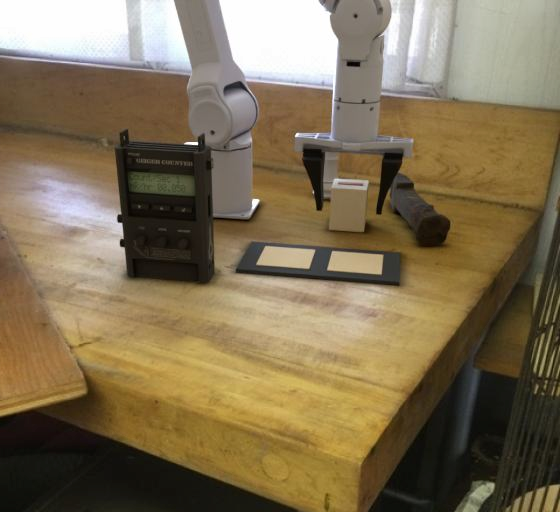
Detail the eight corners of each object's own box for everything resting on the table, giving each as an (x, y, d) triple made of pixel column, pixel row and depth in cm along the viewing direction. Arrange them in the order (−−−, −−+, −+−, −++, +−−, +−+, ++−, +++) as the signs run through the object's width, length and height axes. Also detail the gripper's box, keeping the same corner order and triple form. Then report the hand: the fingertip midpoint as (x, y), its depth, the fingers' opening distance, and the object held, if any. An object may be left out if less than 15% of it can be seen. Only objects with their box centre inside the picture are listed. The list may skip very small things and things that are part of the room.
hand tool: (448, 247, 85) (453, 210, 83) (416, 247, 85) (421, 210, 83) (410, 201, 102) (413, 169, 99) (383, 201, 101) (386, 169, 99)
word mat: (235, 272, 77) (235, 268, 77) (251, 244, 85) (251, 240, 85) (399, 285, 75) (399, 281, 75) (400, 255, 83) (400, 251, 82)
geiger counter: (114, 279, 75) (98, 135, 67) (129, 264, 79) (116, 126, 71) (209, 288, 73) (204, 141, 66) (219, 271, 77) (216, 132, 70)
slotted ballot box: (328, 230, 90) (331, 186, 87) (332, 219, 94) (334, 177, 91) (363, 232, 89) (367, 189, 87) (365, 221, 93) (369, 179, 90)
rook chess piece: (322, 189, 106) (325, 135, 102) (348, 194, 104) (351, 139, 100) (306, 196, 103) (308, 140, 99) (332, 201, 100) (335, 145, 96)
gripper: (291, 102, 81) (289, 216, 88) (417, 108, 79) (405, 223, 86) (300, 93, 87) (297, 200, 94) (417, 98, 85) (405, 206, 92)
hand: (349, 210), depth 91 cm, fingers open, 7 cm apart
